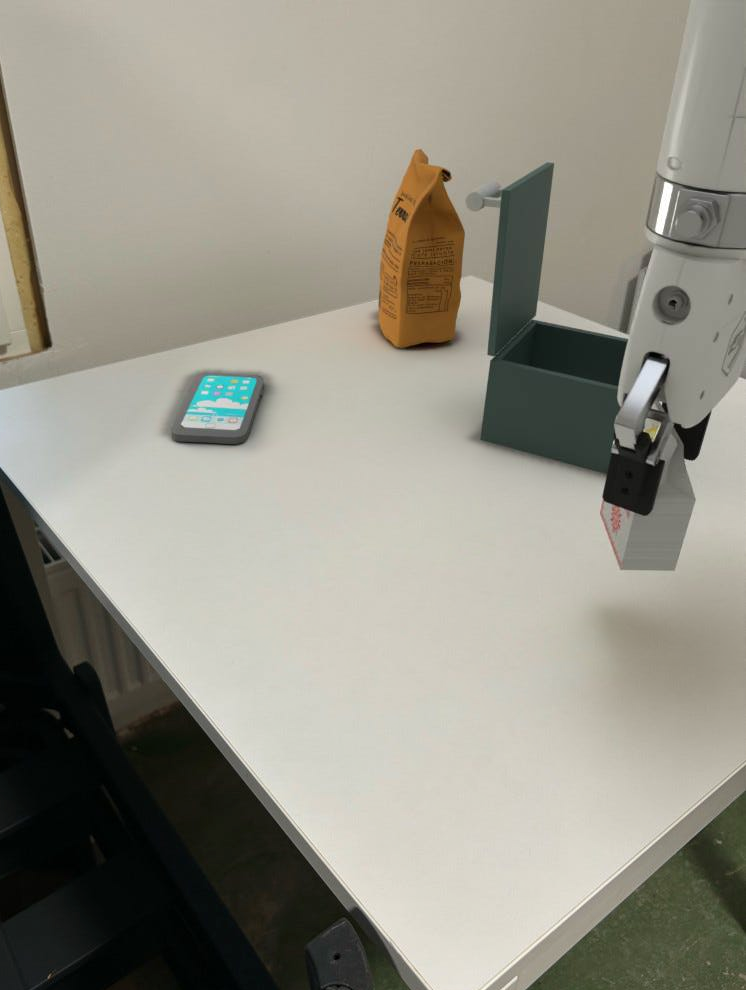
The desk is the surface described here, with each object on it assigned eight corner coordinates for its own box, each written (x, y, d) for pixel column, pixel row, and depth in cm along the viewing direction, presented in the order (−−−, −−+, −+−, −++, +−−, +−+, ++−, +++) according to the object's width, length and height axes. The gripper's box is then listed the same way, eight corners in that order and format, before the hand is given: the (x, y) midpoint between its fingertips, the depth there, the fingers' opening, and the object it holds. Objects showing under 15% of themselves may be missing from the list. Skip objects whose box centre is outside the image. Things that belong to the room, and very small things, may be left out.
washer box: (646, 431, 90) (668, 346, 84) (617, 484, 81) (639, 394, 76) (519, 399, 96) (532, 318, 90) (479, 447, 87) (490, 360, 81)
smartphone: (165, 432, 86) (195, 370, 98) (166, 440, 87) (196, 378, 99) (246, 436, 86) (267, 374, 98) (247, 444, 87) (267, 381, 99)
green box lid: (554, 162, 81) (500, 158, 83) (510, 190, 72) (450, 184, 74) (536, 315, 90) (487, 307, 92) (494, 356, 81) (441, 346, 83)
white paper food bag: (649, 513, 62) (680, 393, 56) (674, 570, 57) (712, 444, 51) (599, 513, 62) (625, 393, 56) (620, 570, 57) (651, 444, 51)
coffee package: (439, 313, 117) (453, 145, 104) (462, 348, 108) (481, 168, 94) (370, 316, 116) (376, 146, 103) (387, 352, 106) (396, 170, 93)
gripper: (738, 268, 38) (655, 563, 49) (832, 188, 49) (747, 444, 60) (587, 238, 42) (541, 518, 53) (705, 170, 53) (647, 414, 64)
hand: (651, 477), depth 56 cm, fingers closed on white paper food bag, 7 cm apart
